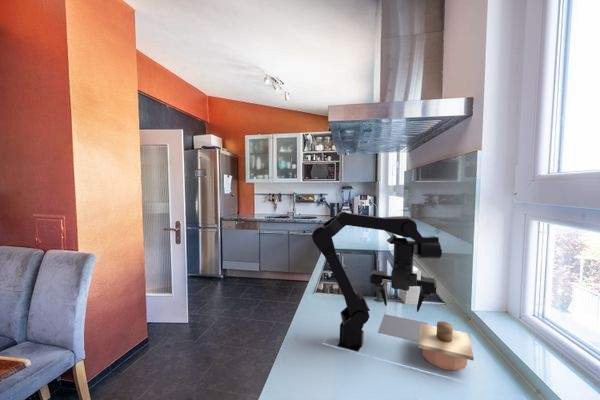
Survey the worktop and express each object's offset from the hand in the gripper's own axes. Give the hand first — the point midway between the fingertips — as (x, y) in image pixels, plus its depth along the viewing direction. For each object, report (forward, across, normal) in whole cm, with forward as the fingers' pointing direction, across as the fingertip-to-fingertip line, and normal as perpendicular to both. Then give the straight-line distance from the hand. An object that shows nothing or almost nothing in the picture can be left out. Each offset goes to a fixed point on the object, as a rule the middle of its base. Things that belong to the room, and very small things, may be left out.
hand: (401, 308), depth 86 cm
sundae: (+12, -12, +32) cm, 36 cm away
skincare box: (+12, 0, +38) cm, 40 cm away
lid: (+7, +12, -1) cm, 14 cm away
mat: (+12, 0, +12) cm, 17 cm away
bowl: (+12, +12, -1) cm, 17 cm away
